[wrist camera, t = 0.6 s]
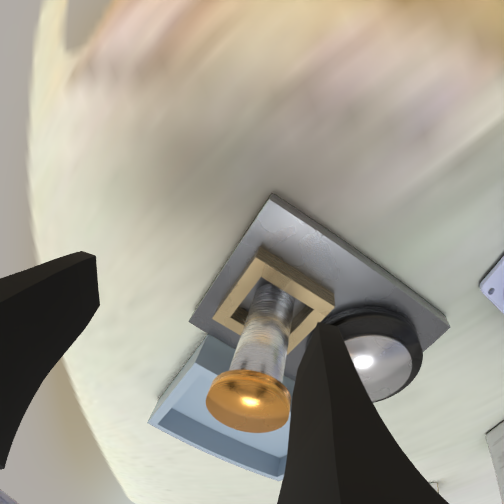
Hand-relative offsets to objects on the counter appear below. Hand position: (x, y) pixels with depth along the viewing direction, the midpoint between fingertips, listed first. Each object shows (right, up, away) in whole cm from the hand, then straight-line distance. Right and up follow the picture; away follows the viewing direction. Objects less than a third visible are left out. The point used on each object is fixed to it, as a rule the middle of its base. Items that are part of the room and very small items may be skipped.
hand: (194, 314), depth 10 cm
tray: (+2, -12, +16) cm, 20 cm away
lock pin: (+3, -1, +9) cm, 10 cm away
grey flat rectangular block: (+6, -2, +11) cm, 13 cm away
